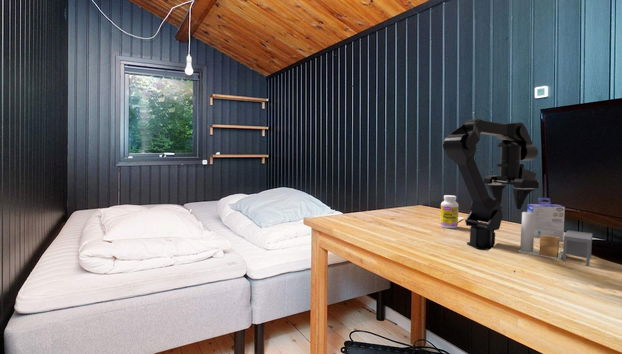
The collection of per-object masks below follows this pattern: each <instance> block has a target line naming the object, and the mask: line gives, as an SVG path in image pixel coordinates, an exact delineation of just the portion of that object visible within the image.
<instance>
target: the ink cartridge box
mask: <svg viewBox="0 0 622 354" xmlns="http://www.w3.org/2000/svg"><path fill="white" fill-rule="evenodd" d="M543 200H544V201H543ZM545 200H546V201H545ZM526 208H527V209H526V212H531V213H535V225H534V238H535V239H540V237H541V236H542V235H548V236H555V237H560V238H559V242H564V236H565V231H564V230H565V215H566V214H565V212H566V206H564V205H561V204H553V203H552V202H551V199H550V197H538V204H535V203H534V204H533V203H528V204H527V207H526Z"/></svg>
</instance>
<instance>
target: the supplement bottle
mask: <svg viewBox="0 0 622 354" xmlns="http://www.w3.org/2000/svg"><path fill="white" fill-rule="evenodd" d="M456 200H457V196H456V195H450V194H445V195H443V201H442V202H441V203H440V216H439V217H440V218H439V219H440V220H439V221H440V222H439V224H440V227H442V228H445V229H457V228H458V227H459V226H458V225H459V207H460V206H459V203H458V202H457V201H456Z"/></svg>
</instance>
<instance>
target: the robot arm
mask: <svg viewBox="0 0 622 354" xmlns="http://www.w3.org/2000/svg"><path fill="white" fill-rule="evenodd" d="M481 135H487V136H488V135H489V136H494V137H495V139H497V140H500V142H498V144H497V145H496V146H497V148H500V160H499V161H500V163H497V164H496V165H497V166H496V167H499V168H500V169H499V175H485V177H484V178H482V176H481V172H480V170H479V168H478V166H477V165H478V164H477V163H476V160H475V156H476V152H477V148H476V147H477V146H476V145H477V144H478V143H479V141H480V140H481ZM442 149H443V151H444V152H445V154H446V155H447V157H448V158H449V159H450V160H451V161H453V162H454V163H455V164H456V165H457V167H458V169H459V172H460V174H461V176H462V179H463V181H464V184H465V186H466V189H467V191H468V193H469V196H470V198H471V200H472V201H471V204H470V212H469V214H468V215H467V217H466V218H465V220H464V221H465V226H467V227H469V228H470V229H469V242H466V245H469V246H471V247H473V248H476V249H477V250H491V249H492V248H494V247H495V244H496V232H495V231H498V230H500V227H501V224H502V220H503V216H504V213H503V210H502V209H503V207H502V205H501V203H502V198H503V190H504V189H505V188H506V186H507V185H512V186H513V188H512V193H513V199H514V200H513V201H514V204H515V208H516V210H522V207H523V205H524V203H525V201H526V198H527V197H528V195H529V194H530V193H531V192H535V191H536V189H539V188H540V181H539V180H538V179H537V176H538V173H536V172H534V171H532V170H529V169H525V165H524V164H523V163H521V161H522V162H523V161H525V162H526V161H530V162H531V161H533V160H535V159H536V158H537V157H538V155H539V150H538V148H537V146H535V145H534V144H533V140H532V139H531V137H530V134H529V132H528V129H527V127H526V126H525V124H524V123H523V122H522V121H521V122H518V121H517V122H509V123H502V122H501V123H500V122H494V121H489V120H483V119H481V118H477V119H475V118H474V119H467V120H466V121H463V123H462V124H461V125H460V126H459V127H457V128H456V129H454V130H452V131H451V132H450V133H449V134H448V135H446V137H445V138H444V141H443V143H442ZM487 188H488V189H487ZM488 190H489V192H490V193H491V195H492V196H490V195H489V192H488Z"/></svg>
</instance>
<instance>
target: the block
mask: <svg viewBox="0 0 622 354" xmlns="http://www.w3.org/2000/svg"><path fill="white" fill-rule="evenodd" d="M559 238H560V237H555V236H548V235H542V236H541V237H540V238H539V250H540V252H539V255H545V256H551V257H556V258H557V256H558V255H559V253H560V241H559ZM539 255H538V256H539ZM545 256H544V257H545ZM556 258H555V259H556Z"/></svg>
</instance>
